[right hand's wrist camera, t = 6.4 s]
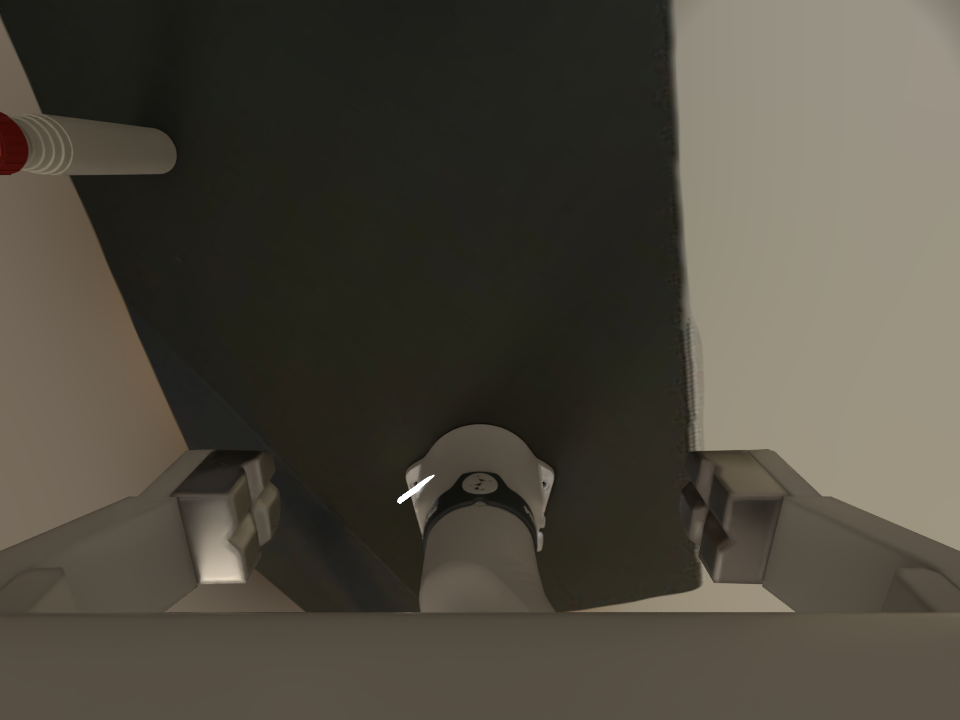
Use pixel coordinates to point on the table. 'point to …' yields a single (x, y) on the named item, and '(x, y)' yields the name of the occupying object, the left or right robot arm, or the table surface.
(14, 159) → the cap
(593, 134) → the table surface
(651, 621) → the right robot arm
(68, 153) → the bottle
